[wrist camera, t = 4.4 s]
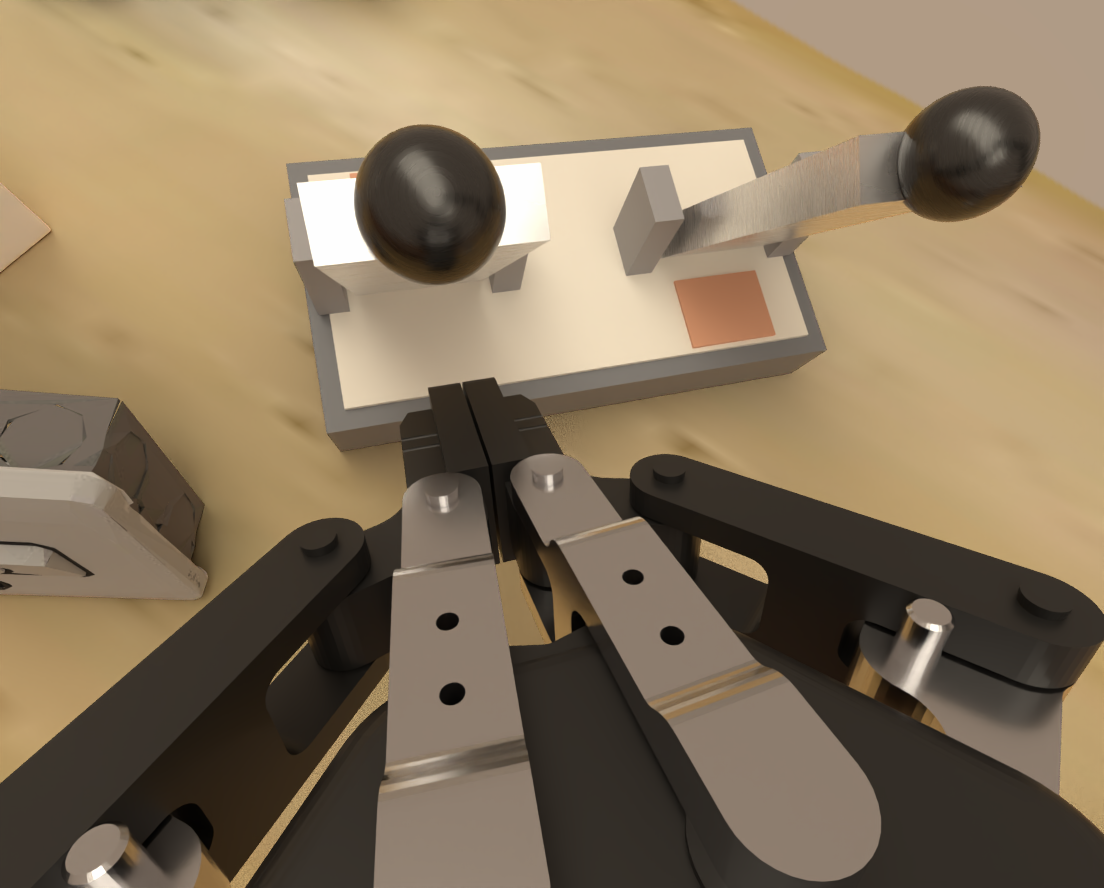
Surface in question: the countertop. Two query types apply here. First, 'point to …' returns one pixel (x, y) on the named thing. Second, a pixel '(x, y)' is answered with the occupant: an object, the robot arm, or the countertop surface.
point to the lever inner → (880, 177)
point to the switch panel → (569, 294)
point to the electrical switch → (91, 503)
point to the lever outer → (424, 214)
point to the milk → (17, 228)
